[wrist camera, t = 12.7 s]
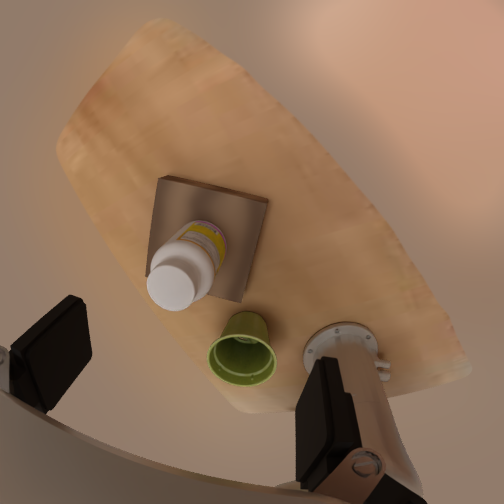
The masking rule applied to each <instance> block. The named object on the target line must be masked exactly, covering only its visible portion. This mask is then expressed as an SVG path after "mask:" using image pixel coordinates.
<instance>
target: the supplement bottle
mask: <svg viewBox="0 0 504 504" xmlns="http://www.w3.org/2000/svg"><path fill="white" fill-rule="evenodd" d="M226 250H227V245H226V240H225V237H224V235H223V233H222V232H221V230H220V229H219V228H218V227H216V226H215V225H214V224H212V223H210V222H207V221H201V220H198V221H192V222H190V223H188V224H186V225H185V226H183V227H182V228H181V229H180V230H179V231H178V232H177V233H176V234H174V235H173V236H172V237H171V238H170V239H169V240H168V241H167V242H166V243H165V244H164V245H163V246H161V247H160V248H159V249H158V250H157V252H156V253H155V255H154V256H153V259H152V262H151V268H150V271H151V272H150V274H149V276H148V279H147V289H148V293H149V295H150V297H151V298H152V299H153V301H154V302H155V303H156V304H157V305H159V306H160V307H162V308H164V309H166V310H170V311H180V310H183V309H186V308H187V307H189V306H190V305H191V303H192V302H195V301H197V300H199V299H201V298H202V297H204V296H205V295H206V294H207V293H208V291H209V290H210V288H211V286H212V284H213V282H214V279H215V277H216V275H217V273H218V271H219V268H220V266H221V264H222V262H223V260H224V257H225V254H226Z"/></svg>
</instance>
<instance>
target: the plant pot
mask: <svg viewBox="0 0 504 504" xmlns="http://www.w3.org/2000/svg"><path fill="white" fill-rule="evenodd" d="M239 337H241V338H243V339H247V340H246V341H245V340H241V339H239ZM207 363H208V366H209V368H210V370H211V371H212V373H213V374H214V375H215V376H216V377H218V378H219V379H221V380H222V381H224V382H226V383H228V384H231V385H234V386H241V387H250V386H256V385H259V384H262V383H264V382H266V381H267V380H268V379H270V378H271V377H272V375H273V374H274V372H275V370H276V367H277V358H276V354H275V352H274V350H273V349H272V347H271V346H270V343H269V337H268V331H267V325H266V323H265V321H264V320H263V318H262V317H261V316H259V315H258V314H256V313H253V312H247V311H245V312H241V313H238V314H236V315H233V316H232V317H231V318H230V320H229V322H228V324H227V326H226V327H225V329H224V331H223V333H222V335H221V336H220V338H218V339H217V340H216V341H214V342H213V343H212V345H211V346H210V348H209V350H208V352H207Z"/></svg>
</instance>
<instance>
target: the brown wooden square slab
mask: <svg viewBox="0 0 504 504" xmlns="http://www.w3.org/2000/svg"><path fill="white" fill-rule="evenodd" d="M267 203H268V199H267V198H263V197H259V196H255V195H251V194H247V193H243V192H239V191H235V190H231V189H227V188H222V187H218V186H214V185H210V184H205V183H201V182H196V181H192V180H187V179H183V178H178V177H174V176H169V175H167V176H164V177H161V178H158V183H157V189H156V195H155V202H154V208H153V215H152V223H151V230H150V238H149V246H148V255H147V265H146V275H145V277H148V276H149V274H150V272H151V271H150V268H151V262H152V259H153V256H154V255H155V253H156V252H157V250H158V249H159V248H160V247H161V246H163V245H164V244H165V243H166V242H167V241H168V240H169V239H170V238H171V237H172V236H173V235H174V234H176V233H177V232H178V231H179V230H180V229H181V228H182V227H183V226H185V225H186V224H188V223H190V222H192V221H198V220H201V221H207V222H210V223H212V224H214V225H215V226H216V227H218V228H219V229H220V230H221V232H222V233H223V235H224V237H225V240H226V245H227V250H226V254H225V257H224V260H223V262H222V264H221V266H220V268H219V271H218V273H217V275H216V277H215V279H214V282H213V284H212V286H211V288H210V290H209V291H208V293H207V294H208V295H211V296H215V297H219V298H223V299H226V300H230V301H234V302H238V303H241V302H242V298H243V294H244V291H245V287H246V283H247V279H248V275H249V272H250V268H251V264H252V260H253V256H254V253H255V249H256V245H257V241H258V237H259V234H260V230H261V226H262V222H263V218H264V215H265V211H266V207H267Z"/></svg>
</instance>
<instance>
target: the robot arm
mask: <svg viewBox="0 0 504 504" xmlns="http://www.w3.org/2000/svg"><path fill="white" fill-rule="evenodd" d="M377 353H378V344H377V341H376V338H375V336H374V334H373V333H372V332H371V331H370V330H369V329H368V328H366V327H365V326H362V325H360V324H356V323H348V322H344V323H337V324H333V325H330V326H328V327H325V328H323V329H322V330H320V331H319V332H317V333H316V334H315V335H314V336H313V337H311V339H310V340H309V341H308V343H307V344H306V346H305V349H304V353H303V362H304V367H305V369H306V371H307V372H308V374H309V377H308V380H307V382H306V385H305V387H304V389H303V392H302V394H301V396H300V398H299V401H298V403H297V406H296V411H295V420H296V422H295V423H296V480H295V481H291V482H287V483H283V484H280V485H277V486H275V487H269V486H262V485H255V484H249V483H242V482H237V481H232V480H226V479H221V478H216V477H211V476H206V475H202V474H198V473H194V472H190V471H186V470H182V469H178V468H175V467H171V466H168V465H164V464H161V463H158V462H155V461H152V460H148V459H146V458H143V457H140V456H137V455H134V454H131V453H128V452H126V451H123V450H120V449H118V448H115V447H113V446H110V445H107V444H105V443H103V442H100V441H98V440H96V439H94V438H92V437H89V436H87V435H85V434H83V433H81V432H78V431H76V430H74V429H72V428H70V427H68V426H66V425H64V424H62V423H60V422H58V421H56V420H55V419H53V418H51V417H49V416H47V415H46V413H47V412H48V411H49V410H52V409H53V408H54V407H55V406H56V404H57V403H58V401H59V400H60V399H61V397H62V396H63V395H64V394H65V392H66V391H67V389H68V388H69V387H70V386H71V384H72V383H73V382H74V380H75V379H76V378H77V376H78V375H79V374H80V373H81V371H82V370H83V369H84V367H85V366H86V365H87V363H88V362H89V361H90V360H91V357H92V348H91V341H90V335H89V327H88V319H87V310H86V304H85V303H84V302H83V300H82V299H81V298H79V297H76V296H73V295H68V296H67V297H66V298H65V299H63V300H62V301H61V302H60V303H59V304H57V305H56V306H55V307H54V308H53V309H51V310H50V311H49V312H48V313H47V314H45V315H44V316H43V317H42V318H41V319H40V320H39V321H38V322H36V323H35V324H34V325H33V326H32V327H31V328H29V329H28V330H27V331H26V332H25V333H24V334H23V335H22V336H20V337H19V338H18V339H17V340H16V341H15V342H14V343H13V344H12V345H11V350H10V351H9V352H8V350H7V349H6V348H5V347H3V346H0V504H427V502H426V501H425V500H424V499H423V490H422V485H421V481H420V479H419V476H418V474H417V472H416V470H415V468H414V466H413V464H412V462H411V460H410V458H409V456H408V454H407V452H406V450H405V447H404V445H403V443H402V441H401V438H400V435H399V432H398V430H397V427H396V424H395V421H394V418H393V415H392V412H391V409H390V406H389V403H388V400H387V397H386V394H385V391H384V388H383V385H382V382H381V381H385V382H387V381H388V380H389V379H390V375H391V374H390V371H385V370H377V367H381V368H387V369H388V368H389V367H390V365H391V362H390V361H388V360H379V358H378V356H377Z"/></svg>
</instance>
